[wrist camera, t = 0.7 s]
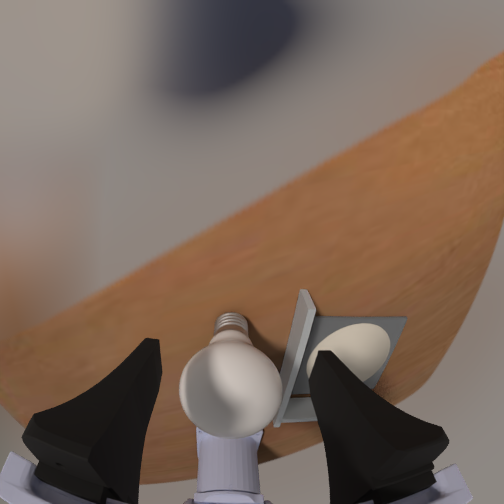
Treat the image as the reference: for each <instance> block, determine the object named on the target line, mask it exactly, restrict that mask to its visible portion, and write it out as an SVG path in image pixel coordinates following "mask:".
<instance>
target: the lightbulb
mask: <svg viewBox="0 0 504 504" xmlns="http://www.w3.org/2000/svg"><path fill="white" fill-rule="evenodd" d="M282 394H283V388H282V381H281V377H280V374H279V372H278V370H277V368H276V366H275V365H274V363H273V362H272V361H271V360H270V358H269V357H268V356H267V355H265V354H264V353H263V352H262V351H260V350H259V349H257V348H256V347H254V346H253V344H252V342H251V340H250V339H249V336H248V323H247V321H246V319H245V318H244V317H243V316H242V315H241V314H239V313H236V312H226V313H223V314H221V315H220V316H219V317H218V318H217V319H216V321H215V328H214V337H213V338H212V340H211V341H210V343H209V345H208V346H206V347H204V348H203V349H201V350H200V351H198V352H197V353H196V354H195V355H194V356H193V357H192V358H191V359H190V360H189V361H188V363H187V364H186V366H185V368H184V370H183V372H182V374H181V378H180V383H179V396H180V401H181V404H182V407H183V409H184V411H185V413H186V415H187V416H188V418H189V419H190V420H191V421H192V423H193V424H194V425H196V426H197V427H198V428H199V429H201V430H202V431H204V432H206V433H207V434H210V435H212V436H215V437H218V438H224V439H240V438H245V437H248V436H251V435H254V434H256V433H258V432H259V431H261V430H262V429H264V428H265V427H266V426H267V425H268V424H269V423H270V422H271V421H272V420H273V419H274V417H275V416H276V414H277V412H278V410H279V408H280V405H281V401H282Z"/></svg>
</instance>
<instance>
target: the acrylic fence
mask: <svg viewBox="0 0 504 504" xmlns="http://www.w3.org/2000/svg"><path fill="white" fill-rule="evenodd" d="M315 312H316V308H315V305H314V303H313V301H312V299H311V297H310V295H309V293H308V290H306V289H300V291H299V296H298V301H297V305H296V310H295V314H294V318H293V323H292V327H291V331H290V335H289V339H288V343H287V348H286V352H285V356H284V359H283V363H282V367H281V371H280V377H281V381H282V388H283V394H282V401H281V405H280V408H279V410H278V412H277V414H276V416H275V417H274V419H273V425H274V427H280V424H281V422H305V421H318V420H317V417H316V414H315V410H314V407H313V404H312V400H311V397H306V398H290V396H291V393H292V390H293V387H294V384H295V380H296V377H297V374H298V371H299V368H300V365H301V361H302V358H303V355H304V351H305V348H306V345H307V341H308V338H309V334H310V331H311V327H312V323H313V320H314V316H315Z"/></svg>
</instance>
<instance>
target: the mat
mask: <svg viewBox="0 0 504 504" xmlns="http://www.w3.org/2000/svg"><path fill="white" fill-rule="evenodd" d="M406 321H407V317H406V316H404V317H339V316H314V320H313V323H312V327H311V331H310V334H309V338H308V341H307V345H306V348H305V351H304V355H303V358H302V361H301V365H300V368H299V371H298V374H297V377H296V380H295V384H294V387H293V390H292V394H310V389H309V382H308V380H309V377H310V374H311V371H312V369H313V366H314V363H315V360H316V357H317V354H318V351H319V350H331V351H332V352H333V353H334V354H335V355H336V356H337V357H338V358H339V359H340V360H341V361H342V362H343V363H344V364H345V365H346V366H347V367H348V368H349V369H350V370H351V371H352V372H353V373H354V374H355V375H356V376H357V377H358V378H359V379H360V380H361V381H362V382H363V383H364V384H365V385H367V386H368V387H369V388H370V389H374V387H375V385H376V384H377V382H378V380H379V378H380V376H381V374H382V372H383V370H384V368H385V366H386V364H387V362H388V360H389V358H390V356H391V354H392V352H393V350H394V348H395V346H396V344H397V341H398V339H399V337H400V335H401V332H402V330H403V328H404V325H405V323H406Z"/></svg>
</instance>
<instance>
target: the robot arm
mask: <svg viewBox="0 0 504 504" xmlns="http://www.w3.org/2000/svg"><path fill="white" fill-rule="evenodd" d="M161 376H162V364H161V354H160V344H159V340H158V339H151V338H145V339H144V340H143V341H142V342H141V343H140V344H139V346H138V347H137V348H136V349H135V350H134V351H133V352H132V353H131V354H130V355H129V356H128V357H127V358H126V359H125V360H124V361H123V362H122V363H121V364H120V365H119V366H118V367H117V368H116V369H114V370H113V371H112V372H111V373H110V374H109V375H108V376H106V377H105V378H104V379H103V380H101V381H100V382H99V383H97V384H96V385H95V386H93V387H92V388H90V389H89V390H87V391H86V392H84V393H82V394H81V395H79V396H77V397H75V398H74V399H72V400H70V401H68V402H65V403H63V404H61V405H59V406H56V407H54V408H51V409H48V410H45V411H42V412H39V413H35V414H34V415H33V416H32V418H31V420H30V421H29V423H28V425H27V427H26V429H25V431H24V433H23V435H22V439H23V442H24V444H25V445H26V446H27V448H28V449H29V450H30V451H31V452H32V453H33V455H34V456H35V457H36V458H37V459H38V460H39V463H38V465H37V466H36V465H35V464H34V463H32V462H31V461H29V460H27V459H25V458H23V457H22V456H20V455H18V454H16V453H14V452H12V451H11V452H10V453H9V455H8V458H7V460H6V462H5V464H4V467H3V469H2V471H1V474H0V497H1V498H2V499H3V500H5V501H6V502H8V503H9V504H138V493H139V480H140V469H141V461H142V453H143V447H144V441H145V435H146V431H147V427H148V424H149V421H150V417H151V414H152V411H153V408H154V404H155V401H156V398H157V395H158V392H159V387H160V382H161ZM308 382H309V389H310V395H311V400H312V404H313V407H314V410H315V414H316V417H317V420H318V424H319V427H320V430H321V433H322V437H323V441H324V446H325V452H326V458H327V466H328V474H329V487H330V504H467V503H468V502H469V501H471V500H472V499H473V497H472V495H471V493H470V491H469V489H468V487H467V485H466V483H465V481H464V479H463V477H462V475H461V473H460V471H459V469H458V467H457V465H456V464H452V465H450V466H449V467H446V468H444V469H442V470H440V471H438V472H437V473H435V474H433V473H432V471H431V470H433V469H434V465H433V463H432V461H434V460H435V459H436V458H437V457H438V456H439V455H440V454H441V453H442V452H443V451H444V450H445V449H446V447H447V446H448V444H449V439H448V437H447V435H446V434H445V432H444V430H443V428H442V427H440V426H437V425H434V424H431V423H428V422H425V421H423V420H420V419H418V418H416V417H413V416H411V415H409V414H407V413H405V412H404V411H402V410H400V409H398V408H396V407H395V406H393V405H392V404H390V403H389V402H387V401H386V400H384V399H383V398H382V397H380V396H379V395H377V394H376V393H375V392H374V391H372V390H371V389H370V388H369V387H368V386H367V385H365V384H364V383H363V382H362V381H361V380H360V379H359V378H358V377H357V376H356V375H355V374H354V373H353V372H352V371H351V370H350V369H349V368H348V367H347V366H346V365H345V364H344V363H343V362H342V361H341V360H340V359H339V358H338V357H337V356H336V355H335V354H334V353H333V352H332V351H331V350H319V351H318V354H317V357H316V360H315V363H314V366H313V369H312V371H311V374H310V377H309V380H308ZM196 433H197V452H198V458H199V464H198V479H197V493H194V499H188V500H187V501H185V502H184V503H183V504H272V503H271V502H270V501H268V500H267V501H264V496H263V494H260V484H259V473H258V460H257V450H258V447H259V444H260V441H261V437H262V434H263V430H261V431H259V432H258V433H256V434H254V435H251V436H248V437H245V438H240V439H224V438H218V437H215V436H212V435H210V434H207V433H206V432H204V431H202V430H201V429H199V428H198V427H196Z"/></svg>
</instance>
